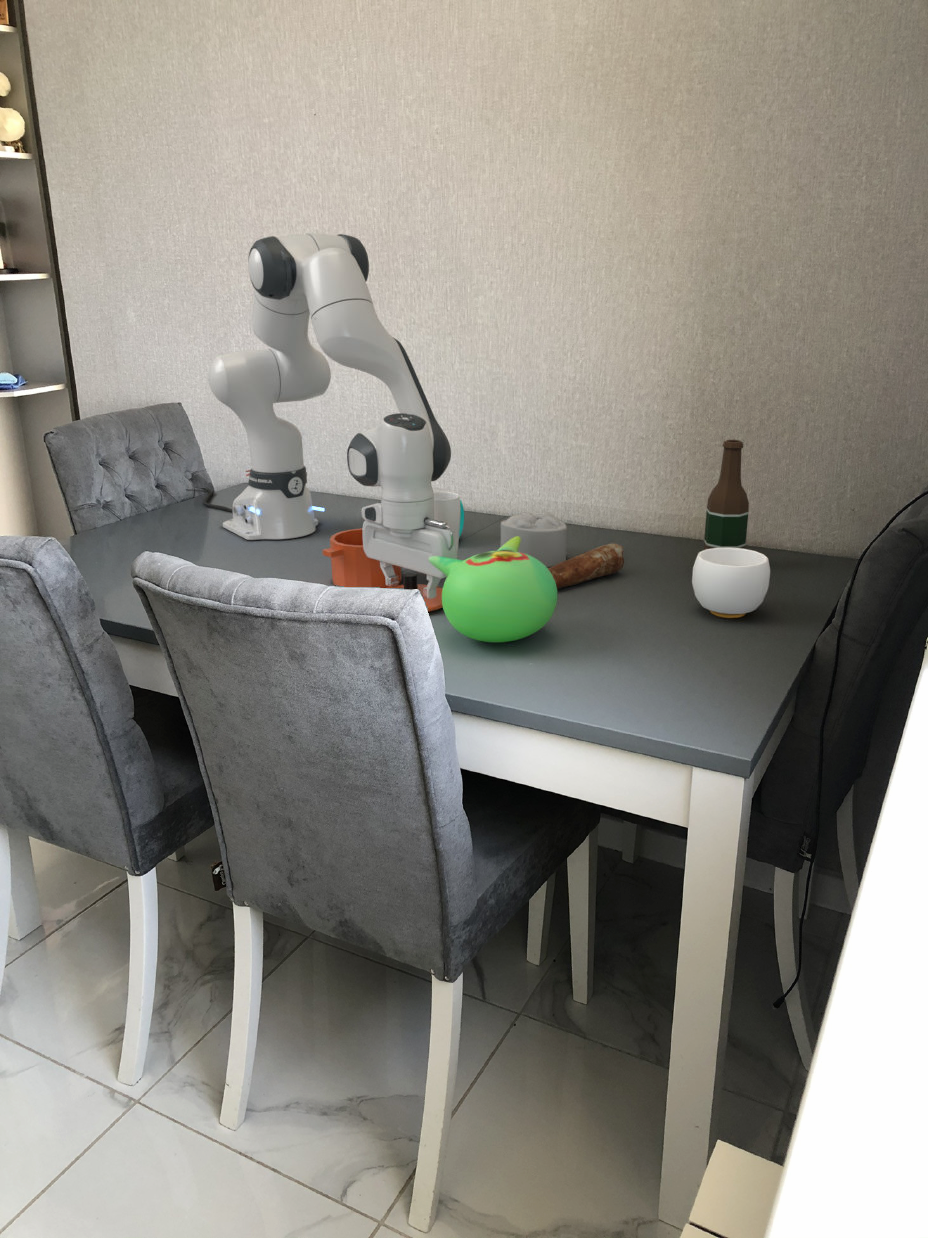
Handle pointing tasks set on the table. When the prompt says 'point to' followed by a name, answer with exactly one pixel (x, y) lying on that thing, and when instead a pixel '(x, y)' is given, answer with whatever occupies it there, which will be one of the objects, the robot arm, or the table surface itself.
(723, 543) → the beer bottle
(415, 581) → the lid
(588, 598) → the table surface
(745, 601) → the cup
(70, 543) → the table surface
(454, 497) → the drinking glass
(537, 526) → the lumpy-topped squat cylinder
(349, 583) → the pot
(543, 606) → the toy bird
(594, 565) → the cassava root
